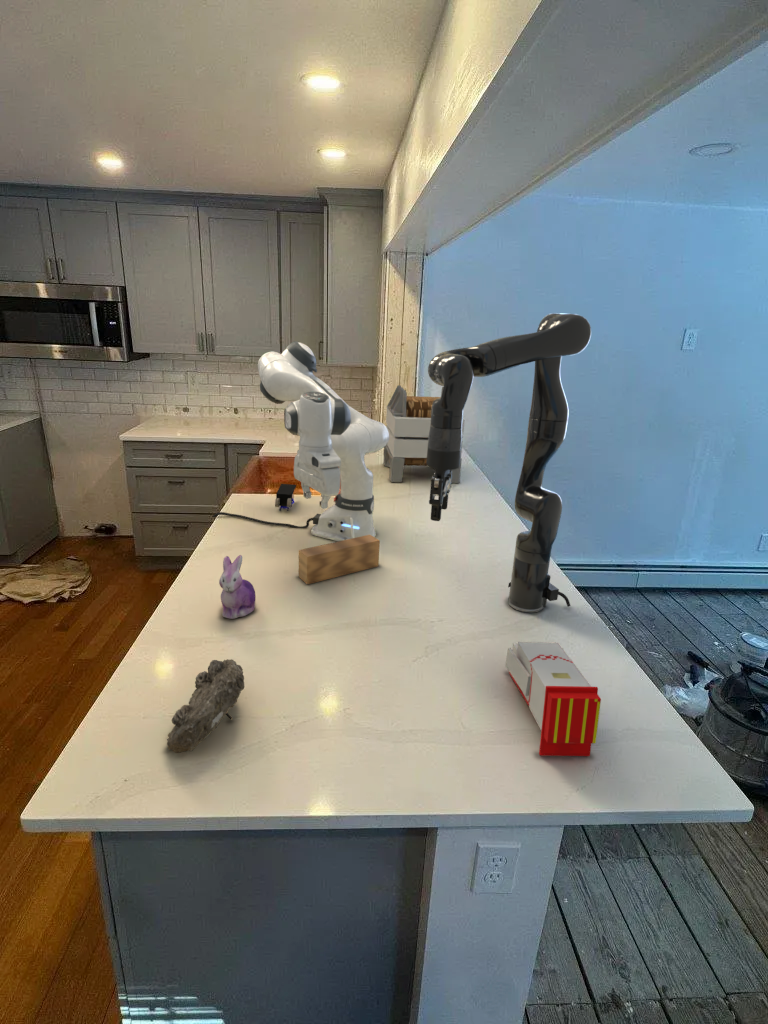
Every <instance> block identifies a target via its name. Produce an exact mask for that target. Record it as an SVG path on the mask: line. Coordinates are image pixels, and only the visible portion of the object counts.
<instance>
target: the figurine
mask: <svg viewBox="0 0 768 1024" xmlns="http://www.w3.org/2000/svg"><path fill="white" fill-rule="evenodd" d="M222 560H223V561H222V571H223V572H222V573H221V575H220V578H219V579H218V585H219V587H220V588H221V589H222V591H221V593H220V602H221V605H222V614H221V615H222V617H223V618H226V619H237V618H241V617H245V616H247V615H249V614H251V613H253V612H254V611H255V607H256V590H255V588H254V586H253V585H254V584H252V583H251V582H250V581H249V580H247V579H243V577H242V575H241V573H240V570H241V568H242V564H243V555H241V554H239V555H237V557H236V558H234V560H233V562H232V561H231V558H230V556H228V555H226V556H224V557H223V559H222Z"/></svg>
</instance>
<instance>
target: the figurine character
mask: <svg viewBox="0 0 768 1024" xmlns="http://www.w3.org/2000/svg"><path fill="white" fill-rule="evenodd" d="M296 488H297V484H291V483H280V485H279V487H278V489H277V491H276V493H275V500H274V507H275V508H279V509H278V511H279V512H281V511H282V509H285V510H286V512H289V510H290V508H292V507H293V504H295V500H294V499H295V490H296Z"/></svg>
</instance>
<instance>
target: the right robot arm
mask: <svg viewBox="0 0 768 1024" xmlns="http://www.w3.org/2000/svg"><path fill="white" fill-rule="evenodd" d="M591 337H592V327H591V324H590V322H589V320H588V319H587V318H586V317H584V316H583V315H580V314H577V313H564V312H563V313H562V312H561V313H560V312H558V313H557V312H551V313H548V314H546V315H545V316H544V317H543V318H542V319H541V320H540V322H539V324H538V327H537V330H536V332H530V333H524V334H517V335H510V336H504V337H499V338H496V339H492V340H488V341H485V342H482V343H479V344H477V345H473V346H469V347H468V346H467V347H462V348H454V349H450V350H446V351H445V350H444V351H441V352H439V353H438V354H436V355H435V356H434V357H432V359H431V360H430V362H429V364H428V367H427V374H428V377H429V379H430V380H431V381H432V382H433V383H434V384H435V385H438V386H440V387H441V386H442V387H443V392H442V391H441V392H442V395H441V394H440V397H441V398H438V399H436V400H434V402H433V404H432V409H431V423H430V430H429V435H428V449H427V466H426V467H428V468H430V469H433V470H434V471H435V472H434V473H433V475H432V477H431V479H430V488H429V489H430V491H429V500H428V504H429V505H431V507H430V520H431V521H434V522H441V519H442V510H445V511H446V510H447V509H448V505H449V494H450V492H451V488H452V483H451V481H452V470H455V469H458V468H459V466H460V458H462V453H461V447H462V448H463V443H462V441H463V438H462V423H463V419H464V408H465V406H466V404H467V401H468V398H469V395H470V392H471V389H472V386H473V382H474V377H475V378H485V377H489V376H492V375H495V374H498V373H501V372H503V371H506V370H509V369H510V370H511V369H513V368H516V367H520V366H523V365H526V364H529V363H530V364H531V363H533V362H534V377H533V384H532V385H533V386H532V395H531V404H530V410H529V416H528V422H527V423H528V424H527V432H526V434H527V435H526V440H525V441H526V442H525V447H524V454H523V461H522V465H521V466H522V467H521V471H520V475H519V480H518V484H517V487H516V492H515V497H514V510H515V513H516V514H517V515H518V516H519V517H520V518H522V519H524V520H526V521H528V522H530V523H532V524H531V528H530V530H525V531H521V532H519V533H518V534H517V536H516V539H515V548H514V555H513V562H512V572H511V577H510V578H511V579H510V581H509V582H508V588H509V593H508V598H507V604H508V605H509V606H510V607H511V608H512V609H514V610H516V611H518V612H521V613H538V612H541V611H542V610H543V608H547V603H548V601H549V602H552V601H558V599H559V598H558V597H559V596H560V597H561V598H562V599H563V600H564V601H565V604H566V606H567V607H568V608H570V607H571V603H570V600H569V598H568V596H566V594H565V593H563V592H561V591H560V589H559V588H558V587H557V586H555V585H554V584H553V583H551V582H550V581H551V575H550V574H549V569H550V568H549V567H550V561H551V555H552V550H553V544H554V543H555V540H556V539H557V537H558V533H559V532H558V531H559V526H560V523H561V522H560V521H561V519H562V512H563V500H562V498H561V496H560V494H558V493H557V492H555V491H553V490H549V489H547V488H544V487H543V480H544V474H545V470H546V468H547V465H548V464H549V462H550V461H551V460H552V458H553V457H554V456H555V455H556V453H557V452H558V450H559V449H560V448H561V447H562V445H563V444H564V441H565V438H566V435H567V428H568V423H569V415H570V414H569V413H570V411H569V404H568V401H567V397H566V394H565V391H564V388H563V384H562V380H561V364H562V359H563V357H566V356H567V357H569V356H575V355H578V354H580V353H582V352H583V351H584V350H585V349H586V348H587V346H588V345H589V343H590V341H591ZM436 496H437V497H438V499H435V497H436Z"/></svg>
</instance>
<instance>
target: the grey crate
mask: <svg viewBox="0 0 768 1024" xmlns="http://www.w3.org/2000/svg"><path fill="white" fill-rule="evenodd" d="M443 387H444V386H442V387H441V392H440V393H441V394H440V396H415V395H414V396H413V395H412V396H411V395H407V394H408V393H407V390H406V389H404V388H403V387H402V385H399V384H398V385H397V386H396V388H395V390H394V392H393V394H392V395H391V398H390V400H389V402H388V404H387V405H386V413H385V414H386V415H385V423H386V425H385V426H386V428H387V429H388V432H389V441H388V443H387V445H386V446H385V447H384V448H383V466H384V467H388V468H389V475H388V476H389V477H388V478H389V480H390V482H391V483H402V482H403V475H404V469H405V466H406V467H407V466H411V467H412V466H413V467H415V466H416V467H417V466H418V467H428V466H427V449H428V435H429V430H430V423H431V409H432V404H433V402H434V400H436V399H438V398H441V395H442V392H443ZM464 429H465V419H464V418H463V423H462V439H463V438H464V431H465V430H464ZM463 442H464V441H463V440H462V444H463ZM462 453H463V446H462V447H461V454H462ZM462 461H463V460H462V457H461V458H460V466H459V468H458V469H455V470H452V481H451V484H455V483H456V484H459V483H461V472H462Z"/></svg>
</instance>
